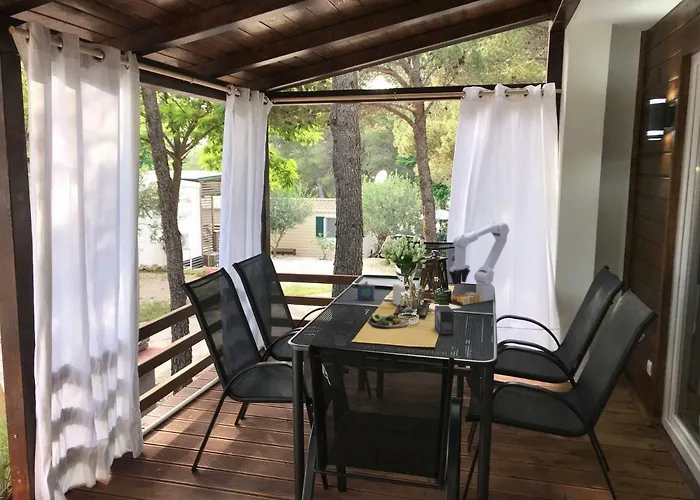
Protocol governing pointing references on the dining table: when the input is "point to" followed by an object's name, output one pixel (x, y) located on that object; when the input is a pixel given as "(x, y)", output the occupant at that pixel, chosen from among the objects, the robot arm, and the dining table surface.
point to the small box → (444, 320)
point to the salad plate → (387, 321)
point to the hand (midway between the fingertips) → (459, 283)
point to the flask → (366, 292)
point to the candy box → (466, 298)
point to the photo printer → (397, 292)
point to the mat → (432, 305)
